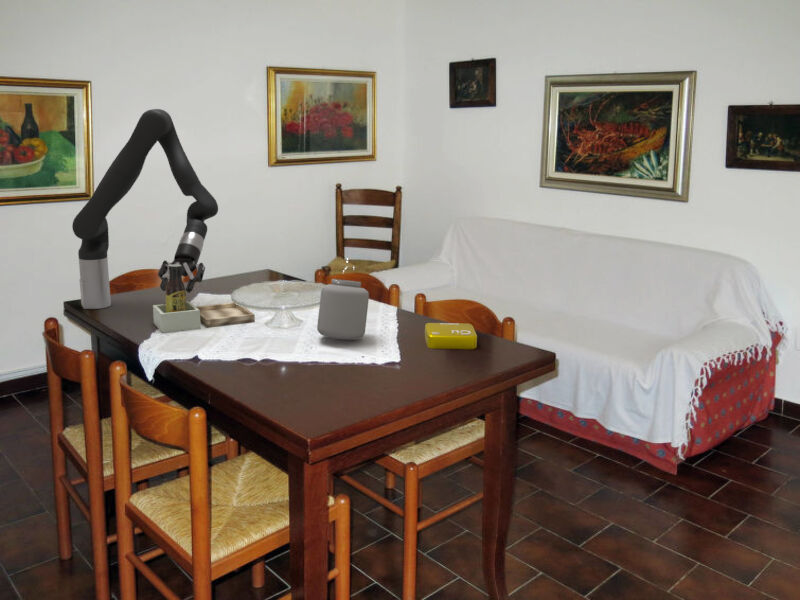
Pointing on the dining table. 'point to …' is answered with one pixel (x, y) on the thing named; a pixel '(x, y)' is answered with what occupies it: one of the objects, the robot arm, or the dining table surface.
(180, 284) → the sauce bottle
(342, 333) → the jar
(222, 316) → the tray
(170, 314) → the box
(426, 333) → the element tile
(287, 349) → the dining table surface
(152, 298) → the dining table surface
